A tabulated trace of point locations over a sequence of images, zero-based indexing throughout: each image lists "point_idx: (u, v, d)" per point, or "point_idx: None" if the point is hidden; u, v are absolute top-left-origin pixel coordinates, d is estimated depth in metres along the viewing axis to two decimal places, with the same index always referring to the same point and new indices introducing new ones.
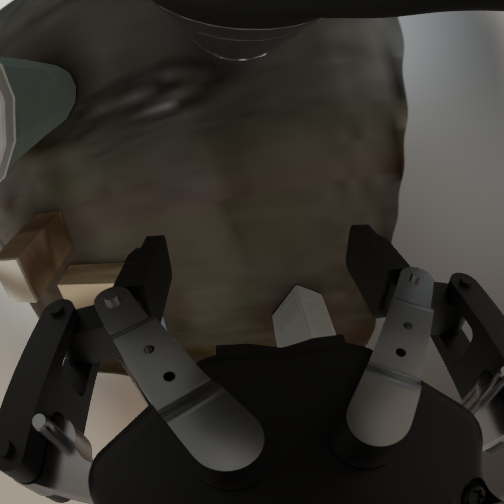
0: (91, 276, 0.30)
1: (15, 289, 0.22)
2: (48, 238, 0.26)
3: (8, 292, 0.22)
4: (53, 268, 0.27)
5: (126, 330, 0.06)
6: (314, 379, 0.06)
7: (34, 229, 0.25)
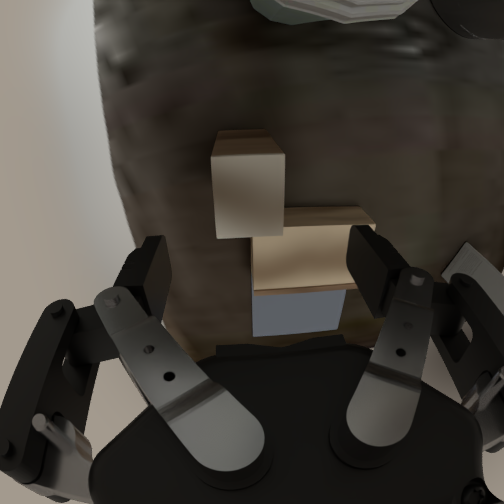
0: (302, 219, 0.26)
1: (246, 212, 0.17)
2: None
3: (221, 220, 0.17)
4: None
5: (126, 330, 0.06)
6: (314, 379, 0.06)
7: (251, 137, 0.20)
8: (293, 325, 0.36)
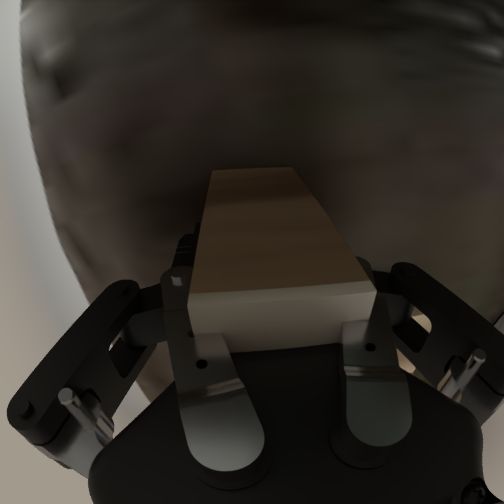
0: None
1: None
2: None
3: None
4: None
5: (179, 310, 0.07)
6: (314, 379, 0.06)
7: (274, 195, 0.11)
8: None
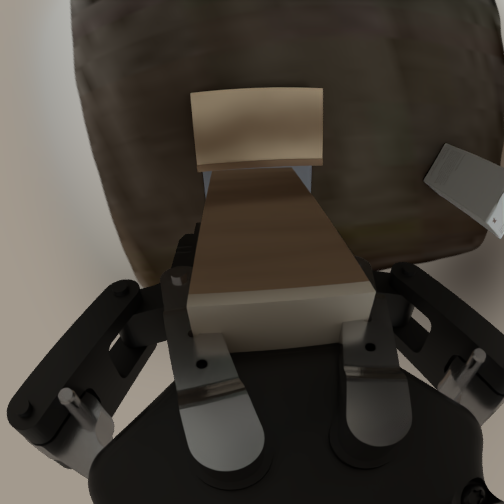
0: (244, 88, 0.23)
1: None
2: None
3: None
4: None
5: (179, 310, 0.07)
6: (314, 379, 0.06)
7: (274, 196, 0.11)
8: None
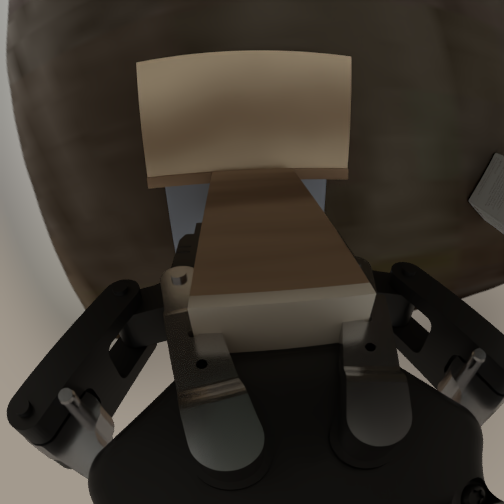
0: None
1: None
2: None
3: None
4: None
5: (179, 310, 0.07)
6: (314, 379, 0.06)
7: (274, 197, 0.11)
8: None
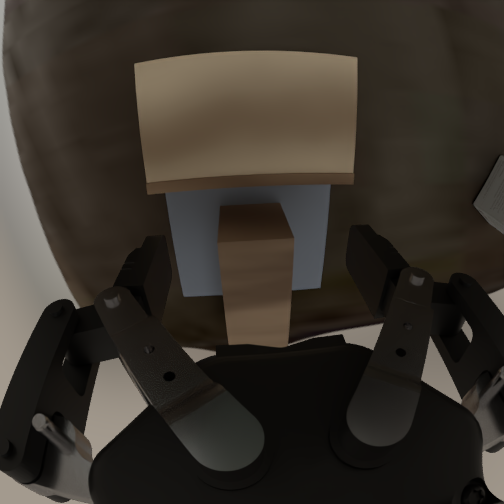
0: None
1: None
2: None
3: None
4: None
5: (126, 330, 0.06)
6: (314, 379, 0.06)
7: (266, 300, 0.18)
8: None
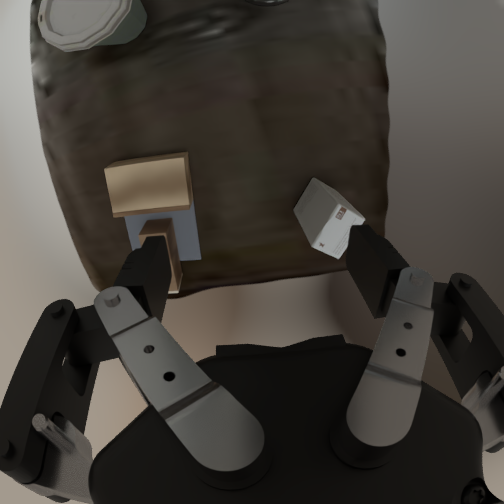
0: (137, 161, 0.36)
1: None
2: (172, 254, 0.42)
3: None
4: (177, 250, 0.45)
5: (126, 330, 0.06)
6: (314, 379, 0.06)
7: None
8: None
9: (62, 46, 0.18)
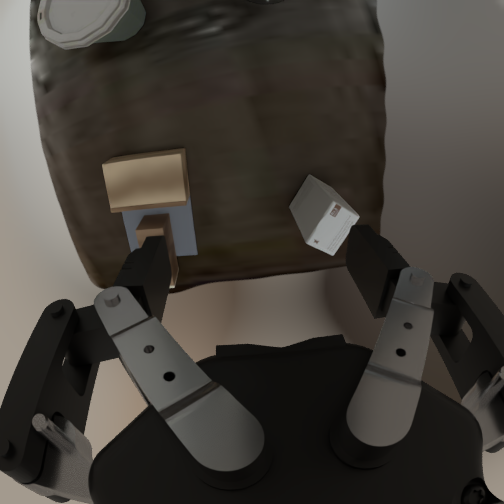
0: (135, 157, 0.36)
1: None
2: (169, 249, 0.42)
3: None
4: (173, 245, 0.45)
5: (126, 330, 0.06)
6: (314, 379, 0.06)
7: None
8: None
9: (61, 44, 0.18)
